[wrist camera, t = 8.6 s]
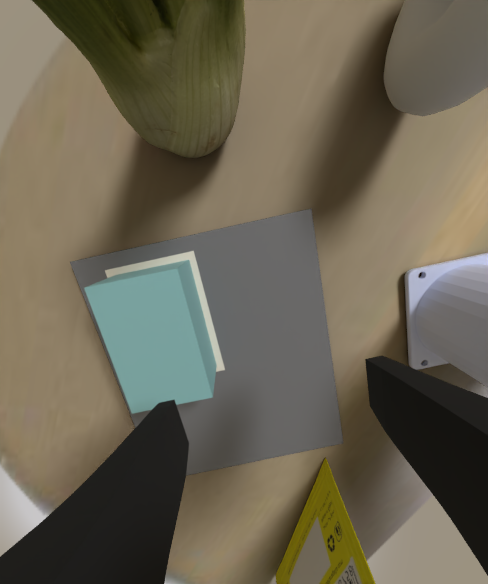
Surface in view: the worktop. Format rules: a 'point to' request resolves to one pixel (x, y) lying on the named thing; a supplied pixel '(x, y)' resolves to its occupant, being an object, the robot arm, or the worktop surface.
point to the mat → (249, 338)
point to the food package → (324, 541)
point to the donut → (437, 55)
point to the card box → (155, 335)
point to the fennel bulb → (163, 64)
